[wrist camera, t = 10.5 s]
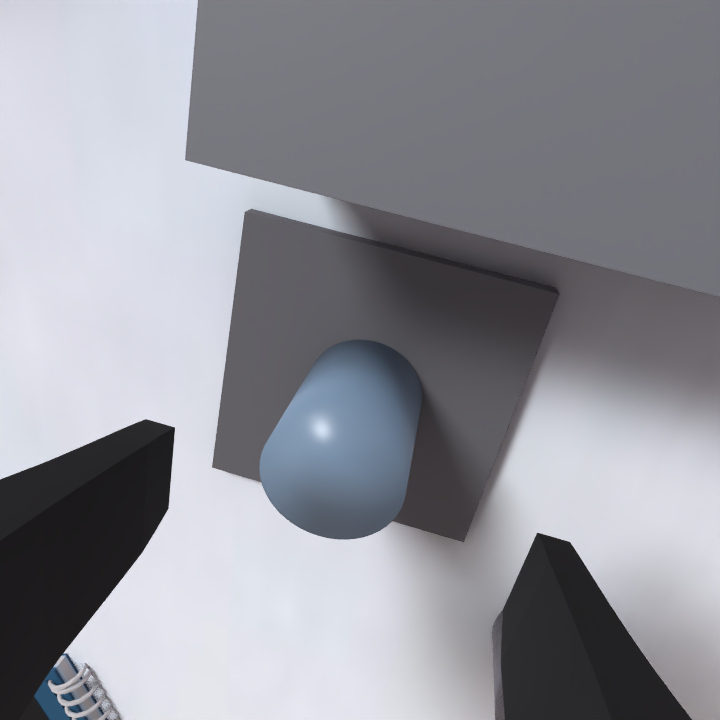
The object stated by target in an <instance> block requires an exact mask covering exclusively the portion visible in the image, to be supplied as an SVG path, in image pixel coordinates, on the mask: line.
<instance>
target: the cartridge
mask: <svg viewBox="0 0 720 720" xmlns="http://www.w3.org/2000/svg"><path fill="white" fill-rule="evenodd" d="M421 404H422V388H421V384H420V380H419V378H418V375H417V373H416V371H415V370H414V368H413V367H412V365H411V364H410V363H409V361H408V360H407V359H406V358H405V357H404V356H402V355H401V354H400V353H399V352H397V351H396V350H394V349H392V348H391V347H389V346H387V345H384V344H382V343H379V342H375V341H370V340H350V341H345V342H341V343H338V344H336V345H334V346H332V347H330V348H329V349H327V350H326V351H325V352H323V353H322V354H321V355H320V356H319V357H318V359H317V360H316V361H315V363H314V365H313V366H312V368H311V369H310V371H309V373H308V374H307V376H306V378H305V379H304V381H303V383H302V384H301V386H300V388H299V389H298V391H297V393H296V394H295V396H294V398H293V399H292V401H291V403H290V404H289V406H288V408H287V409H286V411H285V413H284V414H283V416H282V418H281V419H280V421H279V422H278V424H277V426H276V427H275V429H274V431H273V432H272V434H271V436H270V437H269V439H268V441H267V442H266V444H265V446H264V448H263V451H262V454H261V458H260V468H259V469H260V478H261V482H262V485H263V488H264V490H265V493H266V495H267V496H268V498H269V500H270V501H271V503H272V504H273V506H274V507H275V508H276V509H277V510H278V511H279V512H280V513H281V514H282V515H283V516H284V517H285V518H286V519H287V520H289V521H290V522H291V523H293V524H294V525H296V526H298V527H299V528H301V529H303V530H305V531H307V532H310V533H312V534H315V535H318V536H322V537H326V538H332V539H356V538H361V537H365V536H368V535H371V534H374V533H376V532H378V531H380V530H381V529H383V528H384V527H386V526H387V525H388V524H389V523H391V522H392V521H393V520H394V518H395V517H396V516H397V515H398V513H399V511H400V510H401V508H402V505H403V503H404V500H405V495H406V490H407V484H408V478H409V472H410V467H411V461H412V455H413V450H414V444H415V438H416V432H417V427H418V421H419V415H420V410H421Z"/></svg>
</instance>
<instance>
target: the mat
mask: <svg viewBox="0 0 720 720" xmlns="http://www.w3.org/2000/svg"><path fill="white" fill-rule="evenodd" d="M558 296H559V292H558V290H557V289H556V288H553V287H549V286H545V285H541V284H537V283H533V282H530V281H526V280H522V279H518V278H514V277H510V276H507V275H503V274H499V273H495V272H491V271H487V270H484V269H480V268H476V267H472V266H468V265H464V264H461V263H457V262H453V261H449V260H445V259H441V258H438V257H434V256H430V255H426V254H422V253H418V252H415V251H411V250H407V249H403V248H399V247H395V246H392V245H388V244H384V243H380V242H376V241H372V240H369V239H365V238H361V237H357V236H353V235H349V234H346V233H342V232H338V231H334V230H330V229H326V228H322V227H319V226H315V225H311V224H307V223H303V222H299V221H296V220H292V219H288V218H284V217H280V216H276V215H273V214H269V213H265V212H261V211H257V210H253V209H250V210H248V211H246V212H245V215H244V223H243V231H242V239H241V246H240V254H239V262H238V270H237V278H236V286H235V293H234V301H233V309H232V317H231V325H230V332H229V340H228V348H227V356H226V364H225V371H224V379H223V387H222V395H221V403H220V410H219V418H218V426H217V434H216V442H215V449H214V457H213V465H212V467H213V468H216V469H219V470H223V471H226V472H229V473H233V474H236V475H239V476H243V477H246V478H250V479H253V480H256V481H260V482H261V478H260V469H259V468H260V458H261V454H262V451H263V448H264V446H265V444H266V442H267V441H268V439H269V437H270V436H271V434H272V432H273V431H274V429H275V427H276V426H277V424H278V422H279V421H280V419H281V418H282V416H283V414H284V413H285V411H286V409H287V408H288V406H289V404H290V403H291V401H292V399H293V398H294V396H295V394H296V393H297V391H298V389H299V388H300V386H301V384H302V383H303V381H304V379H305V378H306V376H307V374H308V373H309V371H310V369H311V368H312V366H313V365H314V363H315V361H316V360H317V359H318V357H319V356H320V355H321V354H322V353H323V352H325V351H326V350H327V349H329V348H330V347H332V346H334V345H336V344H338V343H341V342H345V341H350V340H370V341H375V342H379V343H382V344H384V345H387V346H389V347H391V348H392V349H394V350H396V351H397V352H399V353H400V354H401V355H402V356H404V357H405V358H406V359H407V360H408V361H409V363H410V364H411V365H412V367H413V368H414V370H415V371H416V373H417V375H418V378H419V380H420V384H421V388H422V404H421V410H420V415H419V421H418V427H417V432H416V438H415V444H414V450H413V455H412V461H411V467H410V472H409V478H408V484H407V490H406V495H405V500H404V503H403V505H402V508H401V510H400V511H399V513H398V515H397V516H396V517H395V518H394V520H393V521H394V522H398V523H401V524H404V525H408V526H411V527H415V528H418V529H421V530H425V531H428V532H431V533H435V534H438V535H441V536H445V537H448V538H452V539H455V540H458V541H462V542H464V540H465V537H466V535H467V532H468V529H469V527H470V524H471V522H472V519H473V516H474V514H475V511H476V509H477V506H478V503H479V501H480V498H481V496H482V493H483V491H484V488H485V485H486V483H487V480H488V478H489V475H490V472H491V470H492V467H493V465H494V462H495V459H496V457H497V454H498V452H499V449H500V446H501V444H502V441H503V439H504V436H505V434H506V431H507V428H508V426H509V423H510V421H511V418H512V415H513V413H514V410H515V408H516V405H517V402H518V400H519V397H520V395H521V392H522V389H523V387H524V384H525V382H526V379H527V377H528V374H529V371H530V369H531V366H532V364H533V361H534V358H535V356H536V353H537V351H538V348H539V345H540V343H541V340H542V338H543V335H544V333H545V330H546V327H547V325H548V322H549V320H550V317H551V314H552V312H553V309H554V307H555V304H556V301H557V299H558Z"/></svg>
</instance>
